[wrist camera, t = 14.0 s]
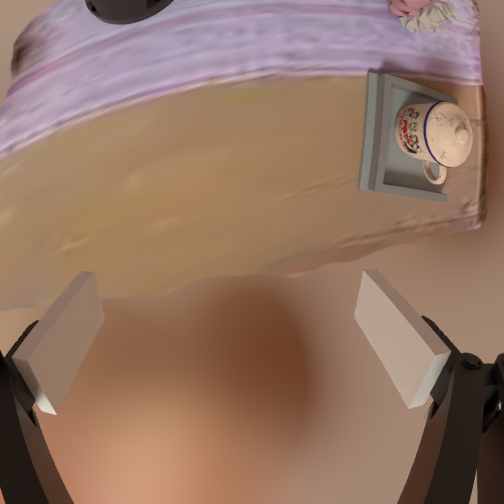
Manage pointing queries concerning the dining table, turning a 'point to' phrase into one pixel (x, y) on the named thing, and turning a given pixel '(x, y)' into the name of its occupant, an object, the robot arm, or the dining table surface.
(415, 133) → the teacup with lid
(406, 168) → the grey shallow square tray
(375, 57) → the dining table surface
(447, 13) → the flower
